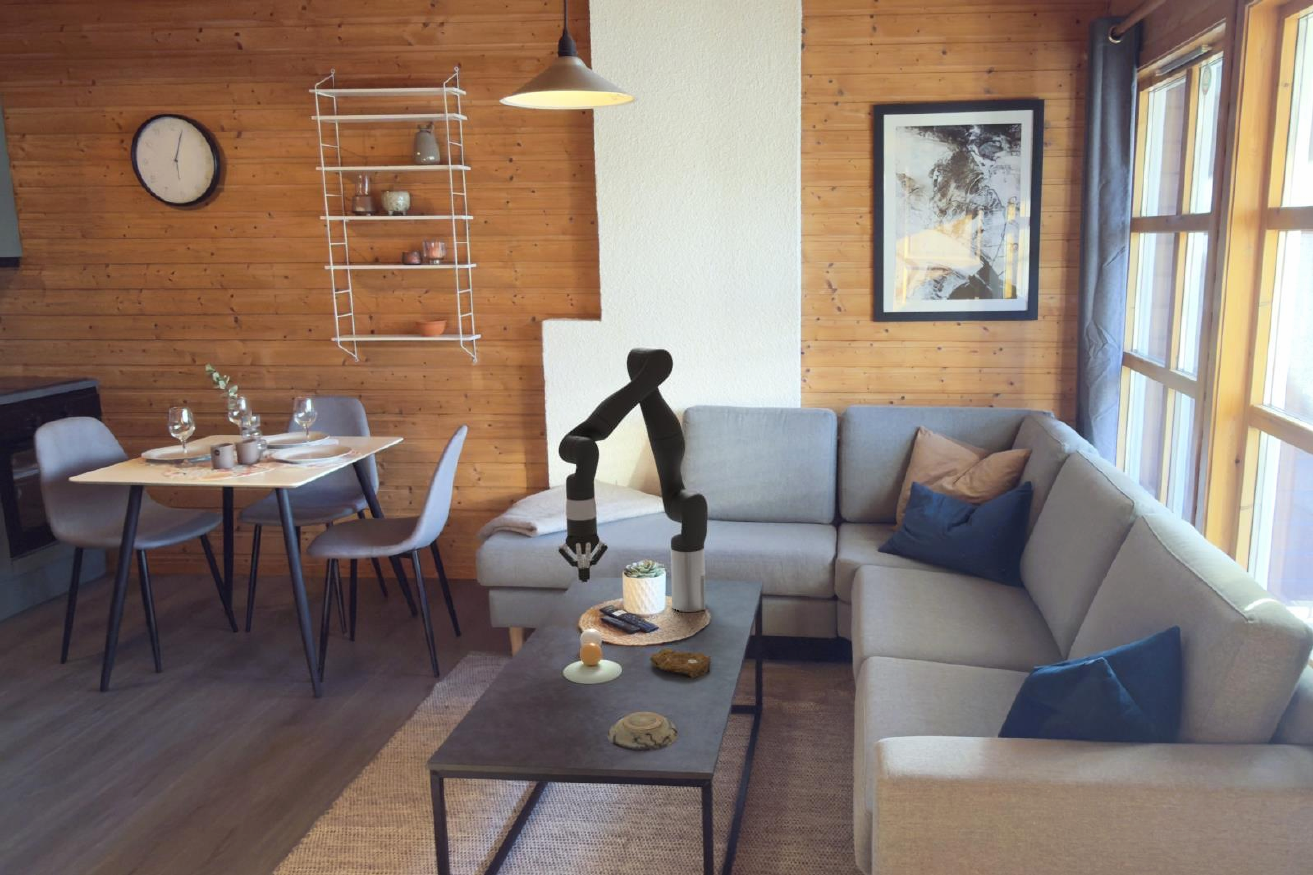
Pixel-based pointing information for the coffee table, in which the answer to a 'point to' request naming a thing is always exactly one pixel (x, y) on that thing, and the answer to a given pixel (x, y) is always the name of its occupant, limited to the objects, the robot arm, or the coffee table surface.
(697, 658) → the decorative rock
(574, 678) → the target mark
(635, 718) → the decorative bowl
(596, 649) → the object ball
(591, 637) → the cue ball
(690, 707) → the coffee table surface
